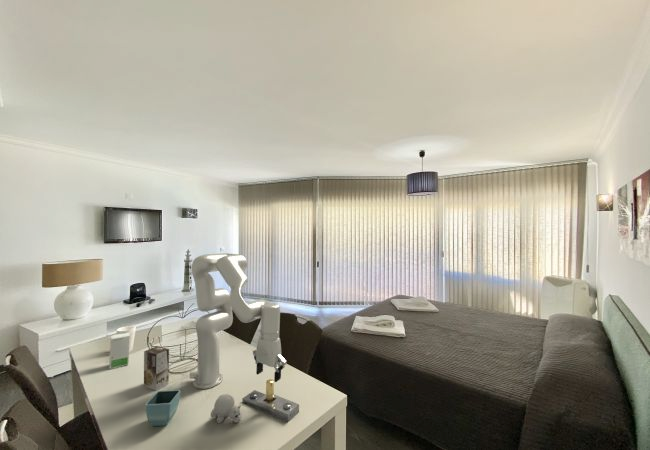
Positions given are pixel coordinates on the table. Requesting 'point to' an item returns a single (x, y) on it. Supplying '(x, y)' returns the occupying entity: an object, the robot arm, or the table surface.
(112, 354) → the skincare box
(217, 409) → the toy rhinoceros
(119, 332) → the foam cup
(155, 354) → the coffee box
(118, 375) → the table surface
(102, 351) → the table surface
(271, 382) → the pin
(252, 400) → the grey flat bar
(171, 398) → the flower pot
